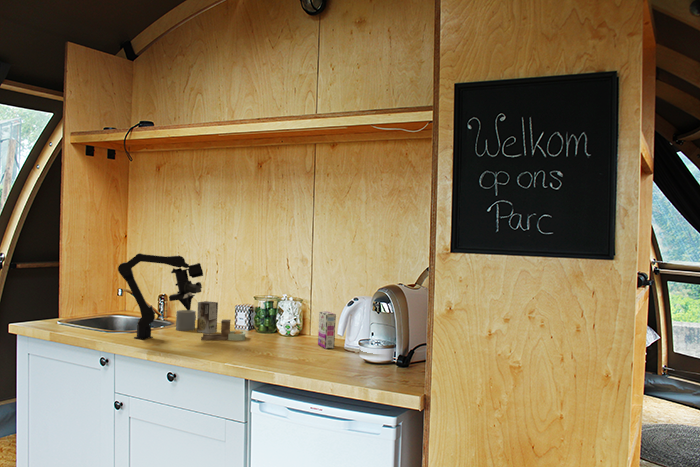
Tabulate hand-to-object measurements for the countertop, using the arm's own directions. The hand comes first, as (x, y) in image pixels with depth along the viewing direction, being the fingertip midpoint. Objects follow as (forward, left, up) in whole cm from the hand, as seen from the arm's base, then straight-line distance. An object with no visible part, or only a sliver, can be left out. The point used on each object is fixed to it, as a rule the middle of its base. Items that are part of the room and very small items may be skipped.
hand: (188, 310), depth 266 cm
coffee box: (-3, +16, -14) cm, 21 cm away
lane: (+14, +6, -13) cm, 20 cm away
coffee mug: (-18, +17, -14) cm, 28 cm away
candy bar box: (+68, +22, -14) cm, 73 cm away
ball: (+22, +12, -11) cm, 28 cm away
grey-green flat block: (+22, +12, -13) cm, 28 cm away
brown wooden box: (+17, +8, -13) cm, 23 cm away
